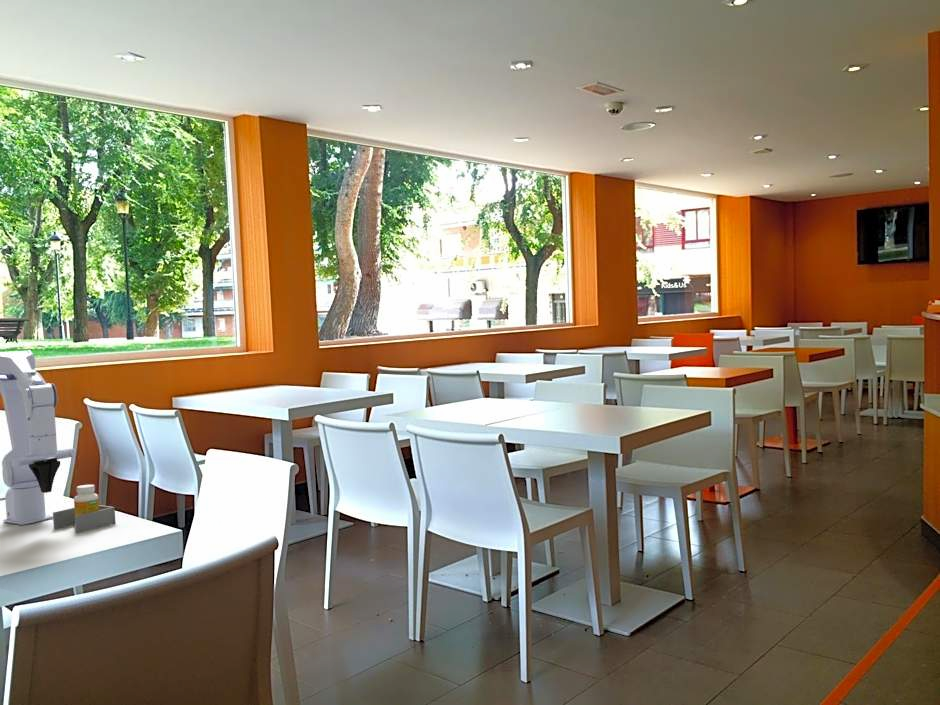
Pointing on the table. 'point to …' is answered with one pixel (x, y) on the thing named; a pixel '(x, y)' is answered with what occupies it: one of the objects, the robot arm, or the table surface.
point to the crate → (84, 518)
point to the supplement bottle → (86, 500)
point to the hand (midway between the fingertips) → (46, 491)
